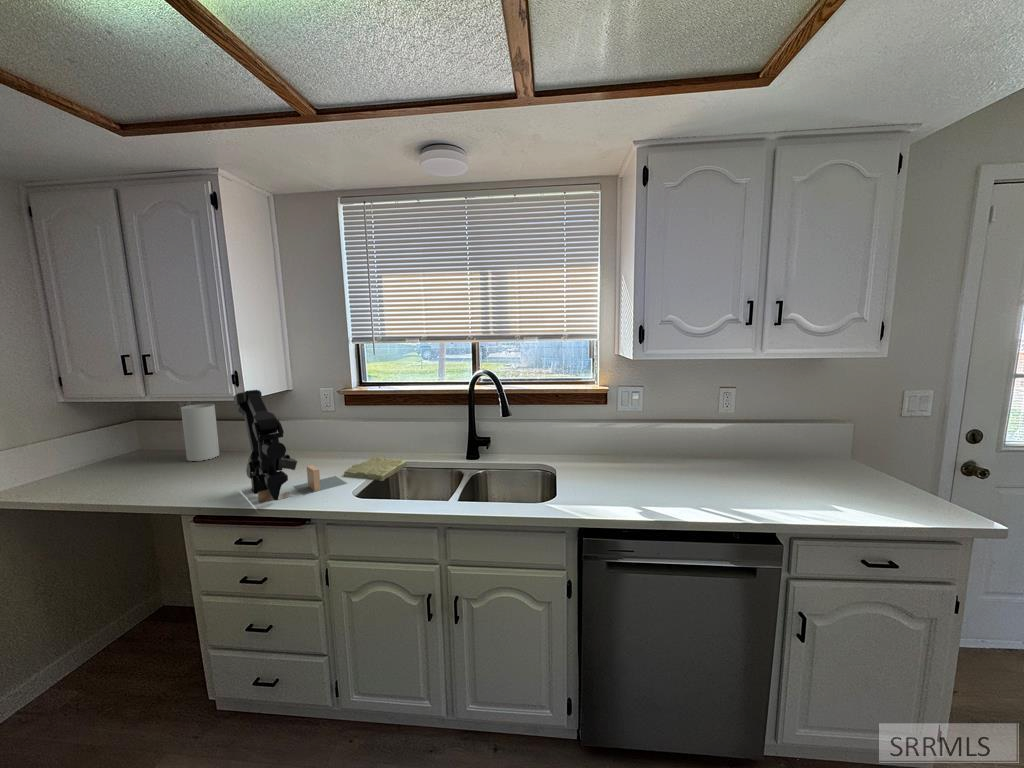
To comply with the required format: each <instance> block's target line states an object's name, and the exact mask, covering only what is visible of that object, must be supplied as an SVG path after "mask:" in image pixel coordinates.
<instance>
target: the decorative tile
mask: <svg viewBox="0 0 1024 768" xmlns="http://www.w3.org/2000/svg"><path fill="white" fill-rule="evenodd" d="M407 466H408V463H407V460H405V459H404V460H403V459H398V458H390V457H389V458H388V457H379V456H378V457H372V458H370V459H368V460H366V461H362V462H361V463H357V464H356V463H355V464H352V466H351V467H349V468H347V470H345V471H343V473H344V474H343V477H344V478H345V477H347V478H355V479H356V478H357V479H369V480H374V481H375V482H376V481H377V482H383V481H385V480H386V479H388V478H389V477H392V476H393V475H394V474H396V473H397V472H400V471H401V470H402V469H404V468H406V467H407Z"/></svg>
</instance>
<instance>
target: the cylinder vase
mask: <svg viewBox="0 0 1024 768" xmlns="http://www.w3.org/2000/svg"><path fill="white" fill-rule="evenodd" d="M215 407H216V405H215V404H214V403H200V404H198V403H197V404H189V405H185V406H182V407H180V409H181V410H180V411H181V418H182V419H181V421H182V429H183V439H184V446H185V448H184V449H185V454H186V455H185V457H186V460H187V461H188V462H192V461H197V462H204V461H203V460H205V461H209V460H208V459H210V460H212V458H213V459H215V457H216V458H218V457H219V456H220V447H219V445H220V444H219V436H218V427H217V417H216V408H215ZM217 456H218V457H217Z"/></svg>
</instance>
